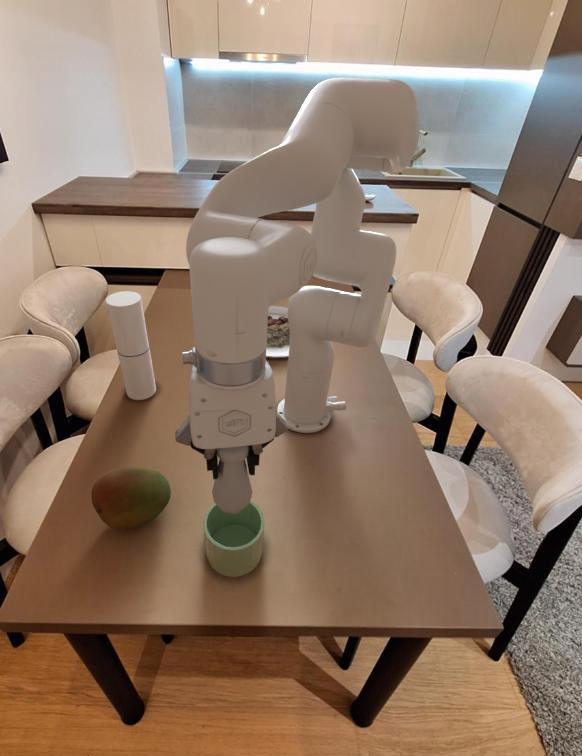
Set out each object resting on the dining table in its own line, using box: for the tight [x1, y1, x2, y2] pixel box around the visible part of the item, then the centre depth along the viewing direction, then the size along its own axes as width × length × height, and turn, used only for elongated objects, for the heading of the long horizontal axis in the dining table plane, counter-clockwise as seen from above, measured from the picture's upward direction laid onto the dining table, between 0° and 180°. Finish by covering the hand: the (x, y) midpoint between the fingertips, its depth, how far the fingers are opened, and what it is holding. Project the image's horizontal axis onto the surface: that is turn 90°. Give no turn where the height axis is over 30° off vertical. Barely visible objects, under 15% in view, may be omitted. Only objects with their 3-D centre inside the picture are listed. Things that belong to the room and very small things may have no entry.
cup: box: [202, 500, 265, 578], centre depth 65 cm, size 9×9×8 cm
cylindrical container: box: [105, 290, 157, 401], centre depth 92 cm, size 7×7×25 cm
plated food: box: [266, 305, 290, 359], centre depth 121 cm, size 30×30×3 cm
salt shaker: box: [211, 445, 253, 514], centre depth 55 cm, size 6×6×13 cm
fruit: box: [90, 466, 172, 531], centre depth 69 cm, size 12×13×10 cm
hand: (232, 468), depth 54 cm, fingers closed on salt shaker, 4 cm apart
